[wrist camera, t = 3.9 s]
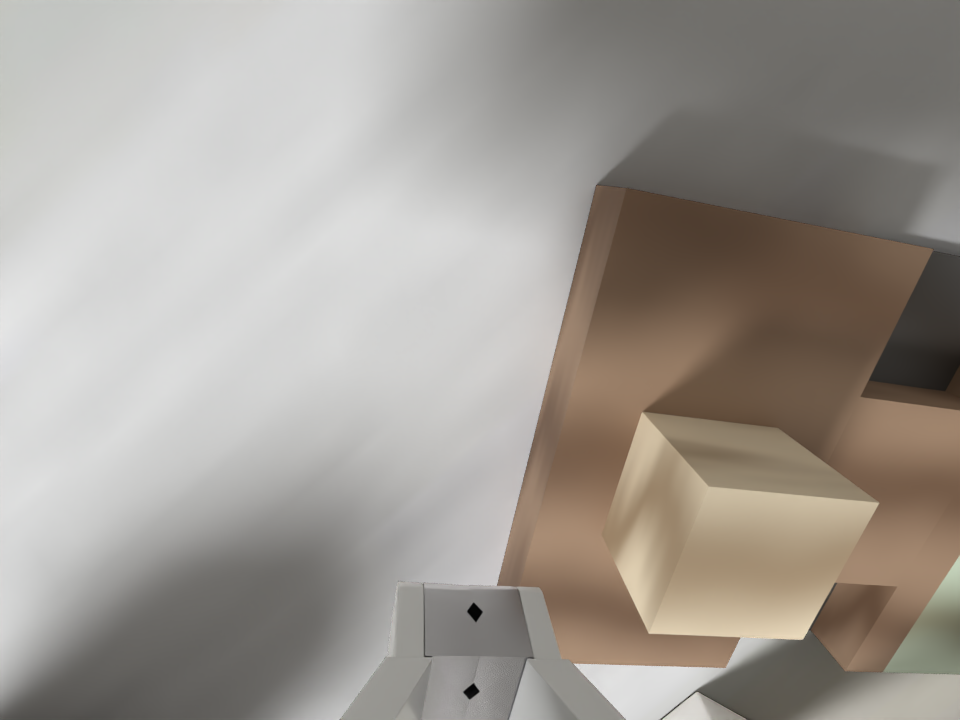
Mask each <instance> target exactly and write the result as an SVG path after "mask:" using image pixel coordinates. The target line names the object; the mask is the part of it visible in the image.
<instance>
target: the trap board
mask: <svg viewBox="0 0 960 720" xmlns="http://www.w3.org/2000/svg"><path fill="white" fill-rule="evenodd" d="M933 250H934V249H931V248H926V247H921V246H916V245H911V244H906V243H901V242H896V241H891V240H886V239H881V238H876V237H871V236H866V235H861V234H856V233H851V232H846V231H841V230H836V229H831V228H826V227H821V226H815V225H810V224H805V223H800V222H795V221H790V220H785V219H780V218H775V217H770V216H765V215H760V214H755V213H750V212H745V211H740V210H735V209H730V208H725V207H720V206H715V205H710V204H705V203H700V202H695V201H690V200H685V199H679V198H674V197H669V196H664V195H659V194H654V193H649V192H644V191H639V190H634V189H629V188H622V187H611V186H601V185H596V189H595V193H594V197H593V201H592V205H591V209H590V213H589V217H588V221H587V225H586V229H585V233H584V237H583V241H582V245H581V249H580V253H579V257H578V261H577V265H576V269H575V273H574V277H573V281H572V285H571V289H570V293H569V297H568V302H567V306H566V310H565V314H564V318H563V322H562V326H561V330H560V334H559V338H558V342H557V346H556V350H555V354H554V358H553V362H552V366H551V370H550V374H549V378H548V382H547V386H546V390H545V394H544V398H543V402H542V406H541V410H540V414H539V419H538V423H537V427H536V431H535V435H534V439H533V443H532V447H531V451H530V455H529V459H528V463H527V467H526V471H525V475H524V479H523V483H522V487H521V491H520V495H519V499H518V503H517V507H516V511H515V515H514V519H513V523H512V527H511V531H510V536H509V540H508V544H507V548H506V552H505V556H504V560H503V564H502V568H501V572H500V576H499V580H498V584H497V586H514V587H539V588H540V589H541V591H542V592H543V596H544V599H545V603H546V606H547V610H548V613H549V616H550V620H551V623H552V627H553V630H554V634H555V637H556V641H557V644H558V648H559V651H560V654H561V658H562V659H569V660H570V661H571V662H572V663H575V664H610V665H645V666H680V667H715V668H726V666H727V664H728V662H729V660H730V658H731V656H732V654H733V652H734V650H735V648H736V646H737V643H738V641H739V639H740V637H721V636H696V635H671V634H649V633H648V631H647V629H646V626H645V624H644V622H643V620H642V618H641V616H640V614H639V612H638V610H637V608H636V606H635V604H634V602H633V599H632V597H631V595H630V593H629V591H628V589H627V587H626V585H625V583H624V581H623V579H622V577H621V575H620V572H619V570H618V568H617V566H616V564H615V562H614V560H613V558H612V556H611V554H610V552H609V550H608V547H607V545H606V543H605V541H604V539H603V537H602V532H603V529H604V526H605V523H606V520H607V517H608V514H609V511H610V508H611V505H612V502H613V499H614V495H615V492H616V489H617V486H618V483H619V480H620V477H621V474H622V471H623V468H624V465H625V462H626V459H627V456H628V453H629V450H630V447H631V444H632V441H633V438H634V435H635V432H636V429H637V426H638V423H639V420H640V417H641V414H642V412H648V413H657V414H665V415H673V416H682V417H690V418H699V419H707V420H715V421H724V422H732V423H740V424H749V425H757V426H766V427H774V428H779V429H780V430H781V431H783V432H784V433H785V434H787V435H788V436H789V437H791V438H792V439H794V440H795V441H796V442H798V443H799V444H800V445H802V446H803V447H804V448H806V449H807V450H809V451H810V452H811V453H813V454H814V455H815V456H817V457H818V458H819V459H821V460H822V461H823V462H825V463H826V464H828V465H829V466H830V467H832V468H833V469H834V470H836V471H837V472H838V473H840V474H841V475H842V476H844V477H845V478H847V479H848V480H849V481H851V482H852V483H853V484H855V485H856V486H857V487H859V488H860V489H861V490H863V491H864V492H866V493H867V494H868V495H870V496H871V497H872V498H874V499H875V500H876V501H878V502H879V505H878V506H877V508H876V510H875V512H874V514H873V515H872V517H871V519H870V521H869V523H868V524H867V526H866V528H865V530H864V531H863V533H862V535H861V537H860V539H859V540H858V542H857V544H856V546H855V548H854V549H853V551H852V553H851V555H850V556H849V558H848V560H847V562H846V564H845V565H844V567H843V569H842V571H841V573H840V574H839V576H838V578H837V580H836V581H835V583H834V585H833V587H832V589H831V590H830V592H829V594H828V596H827V598H826V599H825V601H824V603H823V605H822V606H821V608H820V610H819V612H818V614H817V615H816V617H815V619H814V621H813V623H812V624H811V626H810V628H809V630H811V631H812V632H813V633H814V635H815V636H816V637H817V638H818V639H819V641H820V642H821V643H822V644H823V645H824V647H825V648H826V649H827V650H828V651H829V653H830V654H831V655H832V656H833V657H834V659H835V660H836V661H837V662H838V663H839V665H840V666H841V667H842V668H843V669H844V671H854V672H889V673H924V674H959V675H960V256H955V255H950V254H945V253H940V252H935V251H933Z"/></svg>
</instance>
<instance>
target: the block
mask: <svg viewBox="0 0 960 720" xmlns="http://www.w3.org/2000/svg"><path fill="white" fill-rule="evenodd" d="M878 505H879V502H878V501H876V500H875V499H874V498H872V497H871V496H870V495H868V494H867V493H866V492H864V491H863V490H861V489H860V488H859V487H857V486H856V485H855V484H853V483H852V482H851V481H849V480H848V479H847V478H845V477H844V476H842V475H841V474H840V473H838V472H837V471H836V470H834V469H833V468H832V467H830V466H829V465H828V464H826V463H825V462H823V461H822V460H821V459H819V458H818V457H817V456H815V455H814V454H813V453H811V452H810V451H809V450H807V449H806V448H804V447H803V446H802V445H800V444H799V443H798V442H796V441H795V440H794V439H792V438H791V437H789V436H788V435H787V434H785V433H784V432H783V431H781V430H780V429H779V428H774V427H766V426H757V425H749V424H740V423H732V422H724V421H715V420H707V419H699V418H690V417H682V416H673V415H665V414H657V413H648V412H642V414H641V417H640V420H639V423H638V426H637V429H636V432H635V435H634V438H633V441H632V444H631V447H630V450H629V453H628V456H627V459H626V462H625V465H624V468H623V471H622V474H621V477H620V480H619V483H618V486H617V489H616V492H615V495H614V499H613V502H612V505H611V508H610V511H609V514H608V517H607V520H606V523H605V526H604V529H603V532H602V537H603V539H604V541H605V543H606V545H607V547H608V550H609V552H610V554H611V556H612V558H613V560H614V562H615V564H616V566H617V568H618V570H619V572H620V575H621V577H622V579H623V581H624V583H625V585H626V587H627V589H628V591H629V593H630V595H631V597H632V599H633V602H634V604H635V606H636V608H637V610H638V612H639V614H640V616H641V618H642V620H643V622H644V624H645V626H646V629H647V631H648V633H649V634H671V635H696V636H721V637H746V638H771V639H796V640H803V639H804V637H805V635H806V633H807V631H808V630H809V628H810V626H811V624H812V623H813V621H814V619H815V617H816V615H817V614H818V612H819V610H820V608H821V606H822V605H823V603H824V601H825V599H826V598H827V596H828V594H829V592H830V590H831V589H832V587H833V585H834V583H835V581H836V580H837V578H838V576H839V574H840V573H841V571H842V569H843V567H844V565H845V564H846V562H847V560H848V558H849V556H850V555H851V553H852V551H853V549H854V548H855V546H856V544H857V542H858V540H859V539H860V537H861V535H862V533H863V531H864V530H865V528H866V526H867V524H868V523H869V521H870V519H871V517H872V515H873V514H874V512H875V510H876V508H877V506H878Z"/></svg>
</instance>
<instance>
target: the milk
mask: <svg viewBox="0 0 960 720" xmlns="http://www.w3.org/2000/svg"><path fill="white" fill-rule="evenodd" d="M662 720H747V719H745V718H743V717H742V716H740V715H738V714H736V713H734V712H733V711H731V710H729V709H727V708H726V707H724V706H722V705H720V704H718V703H717V702H715V701H713V700H711V699H710V698H708V697H706V696H704V695H702V694H701V693H699V692H696V693H694V694H693V695H692V696H691V697H689V698H688V699H687V700H686V701H684V702H683V703H682V704H681V705H679V706H678V707H677V708H676V709H674V710H673V711H672V712H671V713H669V714H668V715H667V716H666V717H664V718H663V719H662Z"/></svg>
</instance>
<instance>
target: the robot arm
mask: <svg viewBox="0 0 960 720" xmlns="http://www.w3.org/2000/svg"><path fill="white" fill-rule="evenodd" d="M340 720H626V719H625V718H624V717H623V716H622V715H621V714H620V713H619V712H618V711H617V710H616V709H615V707H614V706H613V705H612V704H611V703H610V702H609V701H608V700H607V699H606V698H605V697H604V696H603V695H602V694H601V693H600V692H599V691H598V690H597V689H596V687H595V686H594V685H593V684H592V683H591V682H590V681H589V680H588V679H587V678H586V677H585V676H584V675H583V674H582V673H581V672H580V671H579V670H578V669H577V667H576V666H575V665H574V664H573V663H572V662H571V661H570V660H569V659H562V658H561V654H560V651H559V648H558V644H557V641H556V637H555V634H554V630H553V627H552V623H551V620H550V616H549V613H548V610H547V606H546V603H545V599H544V596H543V592H542V591H541V589H540V588H539V587H514V586H483V585H469V586H467V585H452V584H438V583H423V584H422V583H416V582H401V581H398V583H397V588H396V594H395V601H394V608H393V614H392V621H391V629H390V637H389V646H388V657H385V659H384V660H383V661H382V663H381V664H380V666H379V667H378V668H377V670H376V671H375V672H374V674H373V675H372V676H371V678H370V679H369V681H368V682H367V683H366V685H365V686H364V687H363V689H362V690H361V691H360V693H359V694H358V696H357V697H356V698H355V700H354V701H353V702H352V704H351V705H350V706H349V708H348V709H347V711H346V712H345V713H344V715H343V716H342V717H341V719H340Z"/></svg>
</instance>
